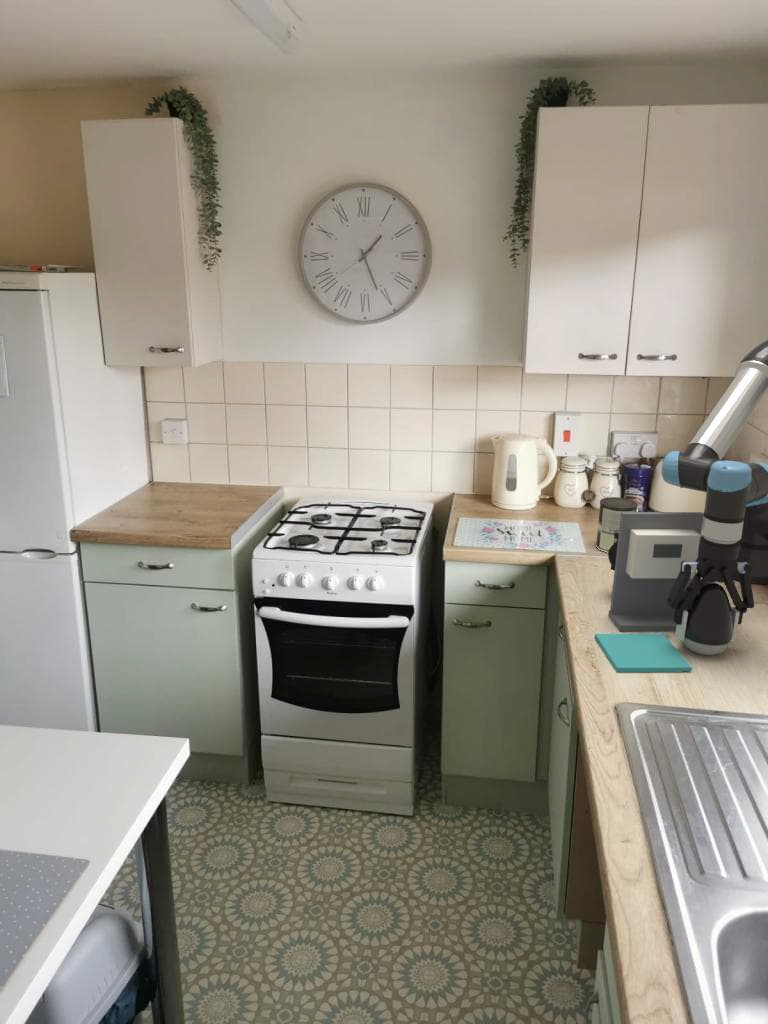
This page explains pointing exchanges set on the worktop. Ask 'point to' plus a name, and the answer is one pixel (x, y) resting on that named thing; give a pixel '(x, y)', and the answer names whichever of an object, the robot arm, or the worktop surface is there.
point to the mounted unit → (651, 567)
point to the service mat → (642, 653)
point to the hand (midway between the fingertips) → (704, 637)
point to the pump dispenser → (709, 621)
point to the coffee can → (611, 519)
